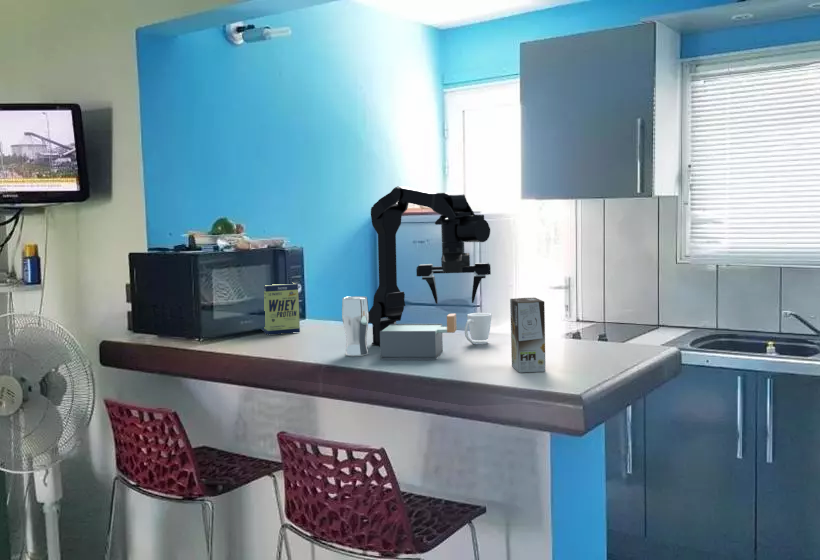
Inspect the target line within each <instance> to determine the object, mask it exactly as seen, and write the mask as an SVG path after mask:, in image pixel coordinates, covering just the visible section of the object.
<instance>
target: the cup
mask: <svg viewBox="0 0 820 560" xmlns="http://www.w3.org/2000/svg"><path fill="white" fill-rule="evenodd" d="M466 317H467V321H466V323H465V325H464V336H465V337H464V338H466V340H467V341H468V342H469V343H470V344H472V345H486V344H488V343H489V341H488V340H489V335H490V332H491V324H492V323H491V322H492V317H493V313H490V312H473V313H472V312H471V313H468V314H467V315H466ZM468 330H469V333H468ZM469 334H470V337H471V338H470V337H469Z"/></svg>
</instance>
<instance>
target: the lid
mask: <svg viewBox="0 0 820 560" xmlns="http://www.w3.org/2000/svg"><path fill="white" fill-rule="evenodd" d="M457 328H458V327H457V313H448V314H447V315H446V326H443V324H442V325H389V326H388V327H386V328H385V329H384V330H382V331H435V335H436V334H437V333H442V334H443V333H446V334H447V333H449V334H450V333H452V334H453V333H455V332H456V331H457V330H458V329H457Z"/></svg>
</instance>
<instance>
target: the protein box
mask: <svg viewBox="0 0 820 560" xmlns="http://www.w3.org/2000/svg"><path fill="white" fill-rule="evenodd" d="M292 283H293V284H272V285H265V286H264V311H265V327H264V329H263V330H264V332H265V333H266V335H267V334H268V335H267V336H270V335H269V334H278V335H282V334H281V333H290V334H294V333H293V332H301V327H300V326H301V325H300V303H299V302H300V301H299V299H300V298H299V284H298V283H295V282H292ZM264 332H263V333H264ZM265 333H264V334H265Z"/></svg>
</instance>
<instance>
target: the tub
mask: <svg viewBox="0 0 820 560" xmlns="http://www.w3.org/2000/svg"><path fill="white" fill-rule="evenodd" d="M390 325H442V326H443V323H396V324H390ZM379 346H380V347H379V349H380V360H383V361H385V360H386V361H396V360H397V361H399V360H400V361H406V360H407V361H411V360H412V361H436V360H437V359H438V358H439V356H440V355H441V354H442V353H443V351H444V348H443V347H444V345H443V333H437V334H436V335H435V331H380V345H379Z"/></svg>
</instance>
